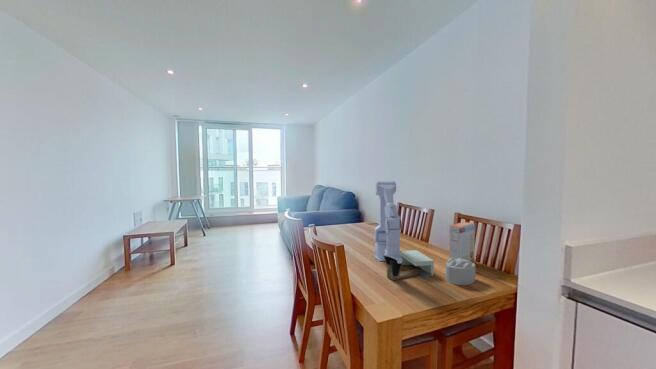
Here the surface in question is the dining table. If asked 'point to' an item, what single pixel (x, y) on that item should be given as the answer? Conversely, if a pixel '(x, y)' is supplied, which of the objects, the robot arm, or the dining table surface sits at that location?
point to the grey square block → (425, 274)
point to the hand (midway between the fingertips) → (392, 273)
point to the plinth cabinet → (417, 260)
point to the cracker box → (462, 241)
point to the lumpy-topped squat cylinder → (460, 271)
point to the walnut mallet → (402, 273)
